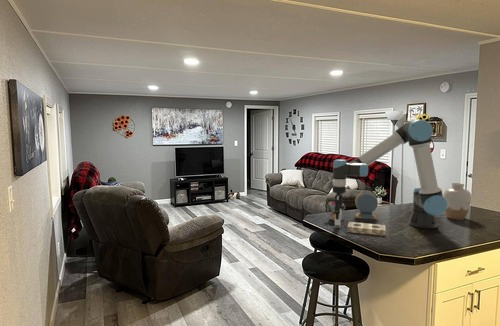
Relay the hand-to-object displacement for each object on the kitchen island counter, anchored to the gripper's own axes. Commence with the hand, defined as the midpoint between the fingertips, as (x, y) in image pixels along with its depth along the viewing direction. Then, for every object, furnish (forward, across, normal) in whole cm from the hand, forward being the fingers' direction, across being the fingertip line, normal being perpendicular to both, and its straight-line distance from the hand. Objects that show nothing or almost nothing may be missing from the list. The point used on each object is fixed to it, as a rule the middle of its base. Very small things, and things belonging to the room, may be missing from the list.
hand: (338, 221), depth 200 cm
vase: (+3, -50, +71) cm, 87 cm away
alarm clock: (+4, -32, +15) cm, 36 cm away
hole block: (+3, +2, +16) cm, 16 cm away
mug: (+4, -18, -2) cm, 18 cm away
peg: (+3, 0, 0) cm, 3 cm away
